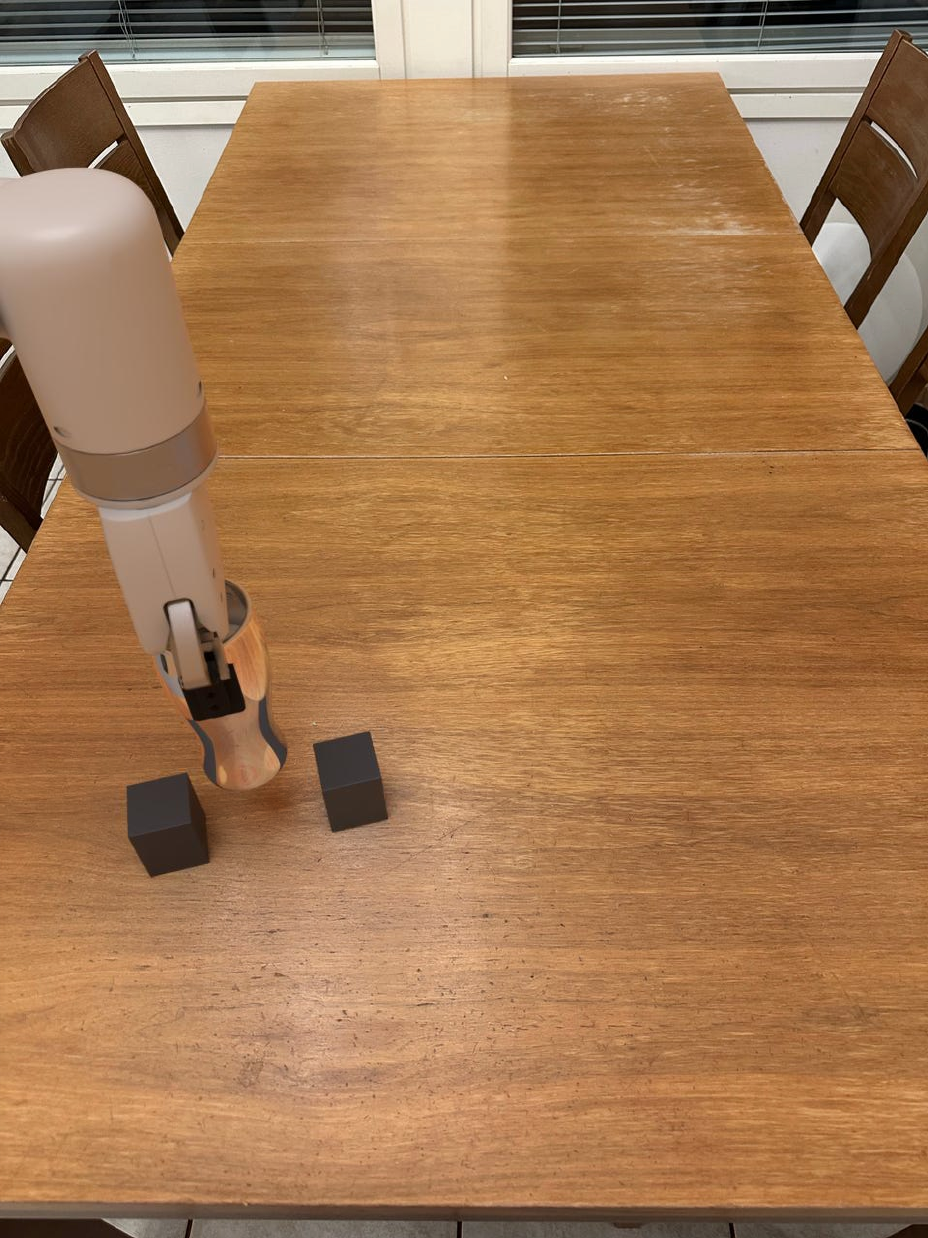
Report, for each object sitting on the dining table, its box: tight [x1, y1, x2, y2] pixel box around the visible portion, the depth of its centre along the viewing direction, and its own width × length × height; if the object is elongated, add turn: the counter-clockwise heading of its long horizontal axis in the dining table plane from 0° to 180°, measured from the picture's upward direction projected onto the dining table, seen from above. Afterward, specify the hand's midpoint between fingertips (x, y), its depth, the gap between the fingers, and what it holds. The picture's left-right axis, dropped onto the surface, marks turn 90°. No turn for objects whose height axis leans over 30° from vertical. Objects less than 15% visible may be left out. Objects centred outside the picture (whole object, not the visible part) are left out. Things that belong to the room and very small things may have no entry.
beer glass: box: [150, 577, 289, 792], centre depth 62 cm, size 7×7×15 cm
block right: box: [312, 730, 389, 833], centre depth 74 cm, size 4×4×6 cm
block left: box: [125, 772, 210, 878], centre depth 71 cm, size 4×4×6 cm
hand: (214, 665), depth 60 cm, fingers closed on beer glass, 7 cm apart
